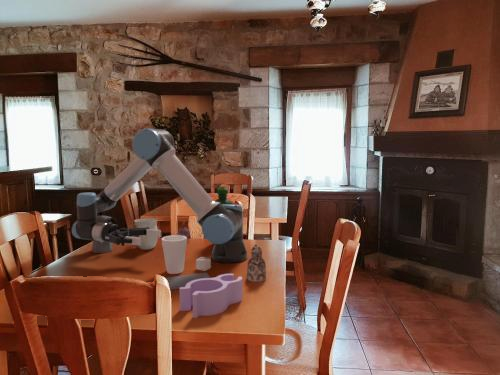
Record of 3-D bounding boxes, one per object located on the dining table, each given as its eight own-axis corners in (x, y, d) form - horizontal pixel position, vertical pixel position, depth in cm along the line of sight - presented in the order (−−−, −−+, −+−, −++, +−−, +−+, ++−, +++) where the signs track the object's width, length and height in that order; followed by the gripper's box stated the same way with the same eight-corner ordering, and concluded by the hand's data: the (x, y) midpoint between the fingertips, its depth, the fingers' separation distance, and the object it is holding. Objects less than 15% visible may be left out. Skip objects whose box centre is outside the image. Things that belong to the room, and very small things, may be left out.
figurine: (245, 281, 143) (245, 248, 142) (247, 274, 150) (247, 243, 149) (266, 281, 143) (266, 248, 142) (266, 275, 150) (266, 243, 149)
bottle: (209, 241, 201) (208, 185, 197) (230, 239, 204) (229, 184, 201) (215, 246, 191) (214, 187, 187) (236, 244, 194) (236, 186, 191)
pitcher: (150, 241, 200) (150, 214, 199) (164, 249, 185) (163, 220, 184) (128, 244, 194) (127, 216, 193) (140, 253, 179) (139, 223, 178)
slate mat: (206, 275, 150) (206, 272, 150) (213, 284, 141) (213, 281, 141) (163, 280, 145) (163, 278, 144) (167, 290, 135) (167, 287, 135)
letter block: (202, 266, 161) (202, 256, 160) (210, 268, 159) (210, 258, 158) (196, 269, 157) (196, 259, 157) (204, 271, 155) (204, 260, 155)
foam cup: (181, 276, 149) (181, 241, 148) (158, 274, 151) (157, 240, 150) (190, 268, 159) (190, 235, 157) (168, 266, 161) (167, 234, 159)
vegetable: (177, 242, 198) (177, 222, 197) (177, 239, 204) (177, 220, 203) (190, 242, 199) (189, 222, 198) (189, 239, 205) (189, 219, 204)
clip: (225, 290, 135) (225, 270, 134) (251, 301, 126) (251, 280, 125) (174, 308, 121) (174, 286, 121) (199, 321, 112) (199, 297, 112)
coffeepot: (83, 251, 183) (81, 212, 181) (98, 246, 192) (96, 209, 190) (110, 255, 177) (109, 214, 175) (125, 249, 186) (123, 211, 184)
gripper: (126, 235, 177) (168, 239, 169) (84, 249, 153) (130, 255, 146) (126, 218, 176) (168, 222, 168) (83, 229, 153) (130, 235, 145)
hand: (150, 237), depth 157 cm, fingers open, 13 cm apart
